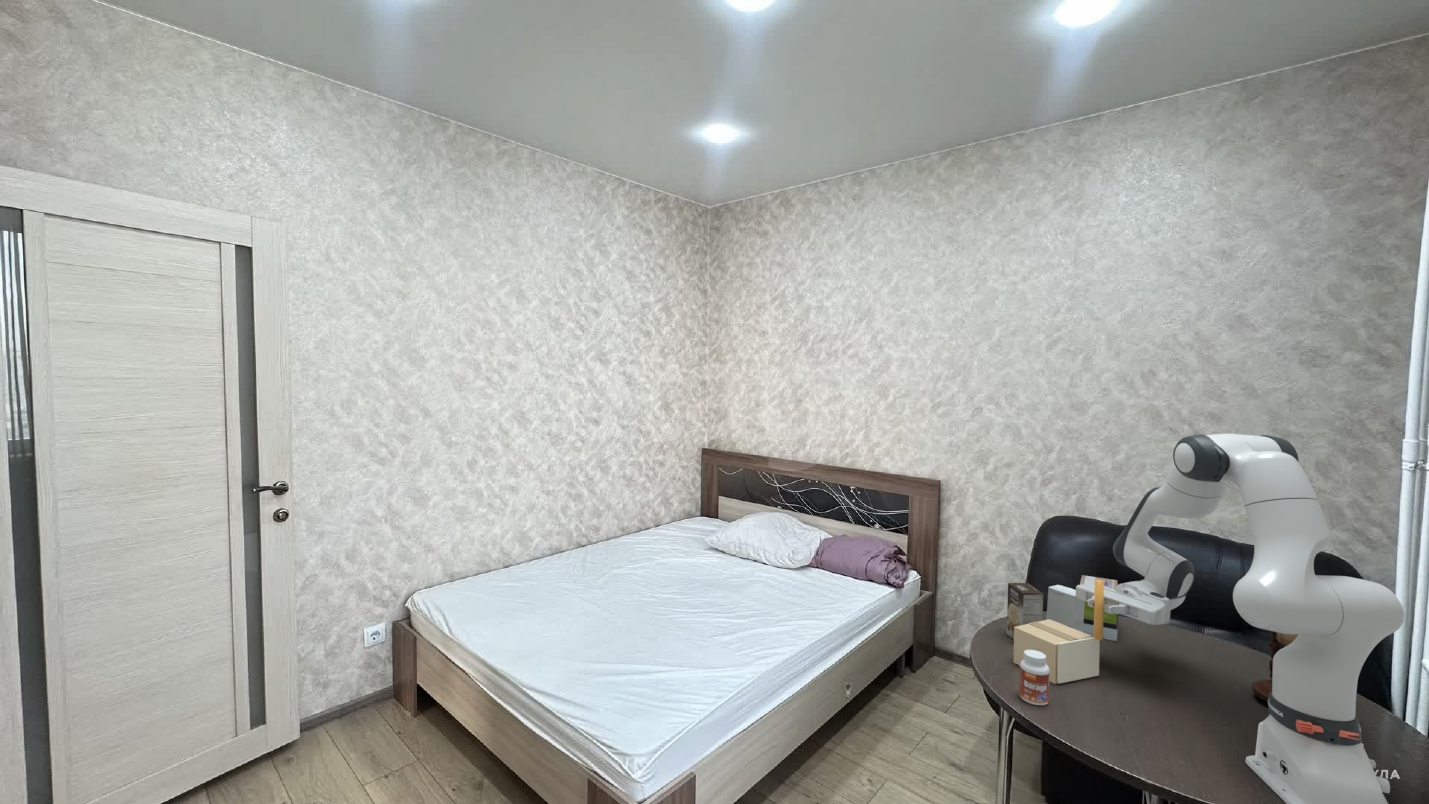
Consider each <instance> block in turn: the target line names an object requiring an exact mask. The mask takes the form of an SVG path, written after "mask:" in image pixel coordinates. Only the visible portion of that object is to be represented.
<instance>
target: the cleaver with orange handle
mask: <svg viewBox="0 0 1429 804" xmlns="http://www.w3.org/2000/svg"><path fill="white" fill-rule="evenodd" d="M1103 608H1104V581H1103V580H1099V579H1095V587H1094V637H1090V638H1085V639H1079V640H1073V641H1068V642H1062V643H1058V655H1057V684H1064V683H1065V684H1066V683H1069V682H1074V681H1079V680H1082V679H1088V678H1092V677H1093V678H1094V677H1097V676H1098V677H1099V675H1100V644H1101V643H1100V641H1103V640H1104V639H1103Z"/></svg>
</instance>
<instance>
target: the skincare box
mask: <svg viewBox="0 0 1429 804" xmlns="http://www.w3.org/2000/svg"><path fill="white" fill-rule="evenodd" d="M1047 592H1048V593H1047V604H1046V605H1047V606H1046V619H1045V620H1048V619H1050V620H1053V621H1055V622H1058V623H1060V624H1063V625H1065V626H1068V627H1071V628H1073V629H1076V630H1078V631H1081V632H1083V621H1084V606H1085V601H1082V600H1079V599H1077V598H1076V589H1073V588H1071V587H1067V586H1064V585H1060V584H1056V585H1051V586H1048V591H1047Z"/></svg>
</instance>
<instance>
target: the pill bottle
mask: <svg viewBox="0 0 1429 804" xmlns="http://www.w3.org/2000/svg"><path fill="white" fill-rule="evenodd" d="M1045 663H1046V655H1045V654H1043V653H1042V652H1039V651H1036V650H1025V651H1024V660H1022V661H1021V663H1020V666H1019V697H1020V698H1021V699H1022V701H1024V702H1026V703H1028V704H1030V705H1034V706H1046V705H1048V704H1049V700H1050V681H1049V667H1048V666H1047V665H1046V664H1045Z"/></svg>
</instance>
